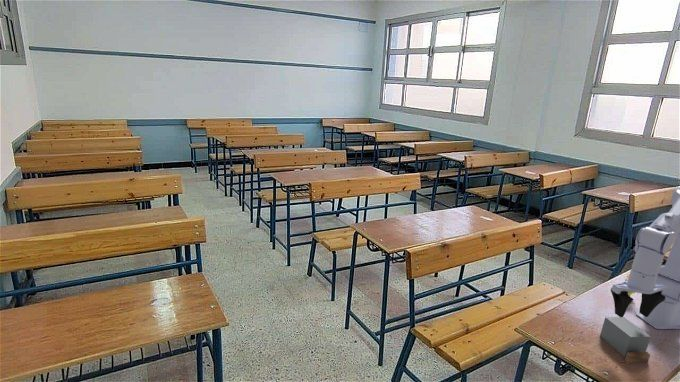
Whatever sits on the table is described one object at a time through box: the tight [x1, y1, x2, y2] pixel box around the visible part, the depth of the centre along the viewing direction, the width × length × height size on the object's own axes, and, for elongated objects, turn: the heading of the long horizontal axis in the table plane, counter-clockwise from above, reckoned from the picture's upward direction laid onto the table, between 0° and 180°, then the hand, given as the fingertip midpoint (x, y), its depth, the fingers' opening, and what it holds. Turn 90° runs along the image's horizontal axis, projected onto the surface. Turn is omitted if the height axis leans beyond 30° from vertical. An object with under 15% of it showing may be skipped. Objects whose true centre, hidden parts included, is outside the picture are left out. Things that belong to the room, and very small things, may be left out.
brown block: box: [624, 351, 651, 364], centre depth 103 cm, size 6×1×2 cm, turn 96°
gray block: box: [599, 316, 652, 358], centre depth 108 cm, size 6×9×6 cm, turn 6°
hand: (631, 315), depth 106 cm, fingers open, 7 cm apart
